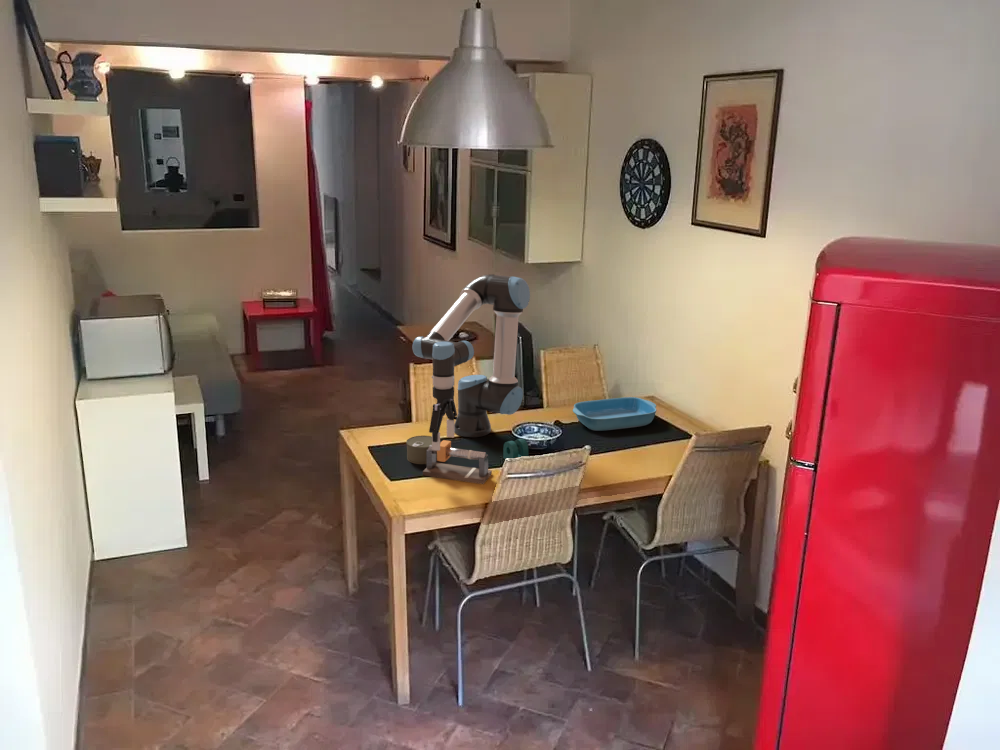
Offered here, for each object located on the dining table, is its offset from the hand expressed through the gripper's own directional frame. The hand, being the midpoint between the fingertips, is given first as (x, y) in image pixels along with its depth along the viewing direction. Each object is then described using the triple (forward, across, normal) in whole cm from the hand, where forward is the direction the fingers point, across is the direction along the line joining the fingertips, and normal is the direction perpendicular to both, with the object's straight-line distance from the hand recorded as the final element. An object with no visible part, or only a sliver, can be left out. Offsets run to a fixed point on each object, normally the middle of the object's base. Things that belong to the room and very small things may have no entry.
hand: (443, 443), depth 295 cm
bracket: (+12, -17, +25) cm, 33 cm away
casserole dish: (+11, -74, +48) cm, 89 cm away
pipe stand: (+12, 0, +5) cm, 13 cm away
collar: (+6, 0, 0) cm, 6 cm away
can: (+12, -11, -13) cm, 20 cm away
